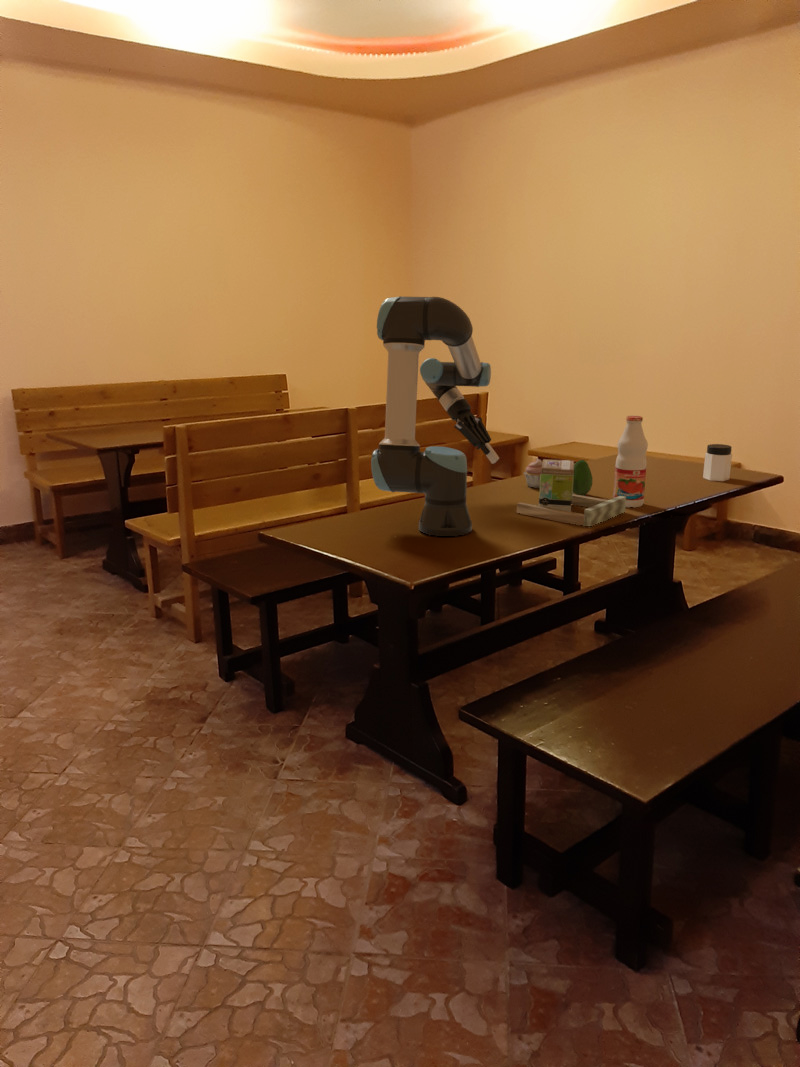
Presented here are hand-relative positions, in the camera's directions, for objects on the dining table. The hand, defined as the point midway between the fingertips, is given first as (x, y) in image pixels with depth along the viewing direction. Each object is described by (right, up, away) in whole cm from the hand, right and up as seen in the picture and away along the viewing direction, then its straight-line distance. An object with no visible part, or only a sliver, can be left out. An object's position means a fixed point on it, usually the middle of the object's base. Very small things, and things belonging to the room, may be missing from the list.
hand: (495, 461), depth 271 cm
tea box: (+17, -17, -12) cm, 27 cm away
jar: (+83, -4, +30) cm, 88 cm away
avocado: (+29, -11, +6) cm, 31 cm away
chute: (+21, -17, -15) cm, 31 cm away
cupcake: (+16, -7, +19) cm, 26 cm away
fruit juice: (+41, -15, -6) cm, 44 cm away
